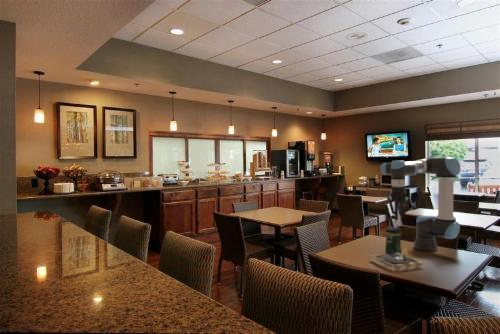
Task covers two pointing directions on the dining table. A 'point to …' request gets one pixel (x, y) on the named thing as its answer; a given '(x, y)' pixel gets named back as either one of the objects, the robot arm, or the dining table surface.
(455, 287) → the dining table surface
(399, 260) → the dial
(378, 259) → the square tray
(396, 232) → the coffee jar
